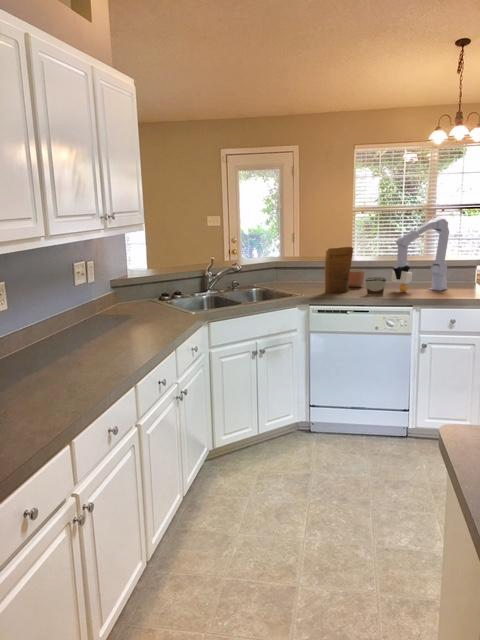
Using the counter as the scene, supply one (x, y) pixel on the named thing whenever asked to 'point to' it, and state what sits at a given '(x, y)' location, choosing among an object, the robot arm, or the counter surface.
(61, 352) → the counter surface
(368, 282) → the food container
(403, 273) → the cream white block
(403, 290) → the ball
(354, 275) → the planter
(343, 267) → the pancake mix bag
